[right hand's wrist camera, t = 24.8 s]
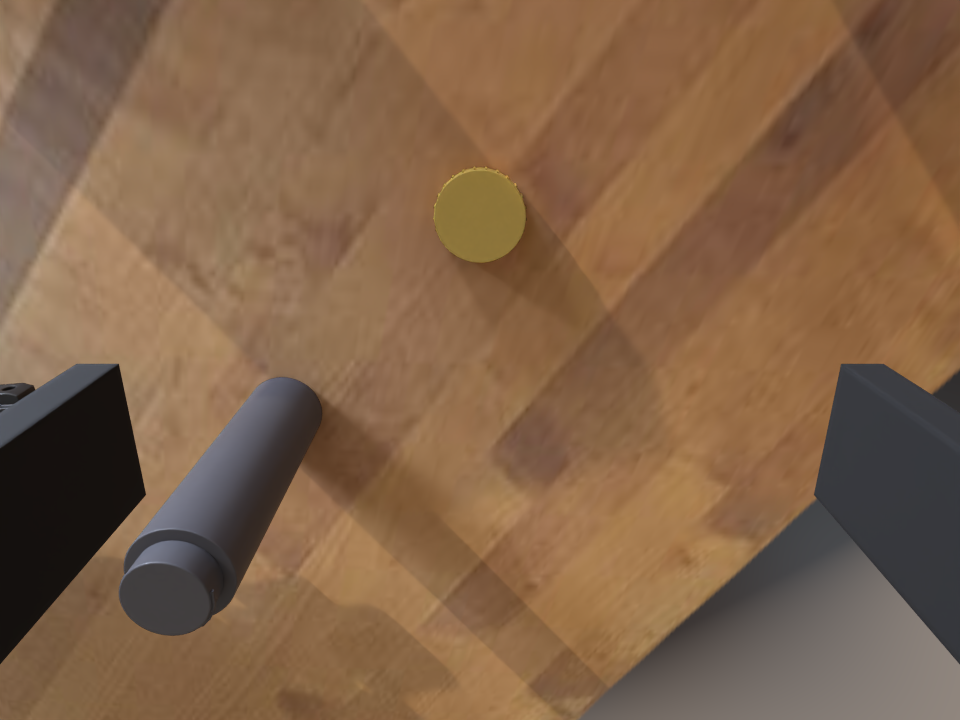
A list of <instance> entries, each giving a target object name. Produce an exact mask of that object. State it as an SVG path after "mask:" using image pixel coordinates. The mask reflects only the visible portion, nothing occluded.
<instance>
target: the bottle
mask: <svg viewBox="0 0 960 720" xmlns="http://www.w3.org/2000/svg"><path fill="white" fill-rule="evenodd" d="M321 419H322V408H321V404H320V401H319V399H318V397H317V396H316V394H315V393H314V392H313V391H312V390H311V389H310V388H309V387H308V386H307V385H305V384H304V383H302V382H300V381H298V380H295V379H291V378H285V377H279V378H273V379H269V380H267V381H265V382H263V383H261V384H260V385H259V386H258V387H257V388H256V389H255V390H254V391H253V393H252V394H251V395H250V396H249V398H248V399H247V400H246V402H245V403H244V404H243V405H242V407H241V408H240V409H239V410H238V412H237V413H236V414H235V415H234V417H233V418H232V419H231V420H230V422H229V423H228V424H227V425H226V427H225V428H224V429H223V430H222V432H221V433H220V434H219V435H218V437H217V438H216V439H215V441H214V442H213V443H212V444H211V446H210V447H209V448H208V449H207V451H206V452H205V453H204V454H203V456H202V457H201V458H200V459H199V461H198V462H197V463H196V464H195V466H194V467H193V468H192V469H191V471H190V472H189V473H188V475H187V476H186V477H185V478H184V480H183V481H182V482H181V483H180V485H179V486H178V487H177V488H176V490H175V491H174V492H173V493H172V495H171V496H170V497H169V498H168V500H167V501H166V502H165V503H164V505H163V506H162V507H161V508H160V510H159V511H158V512H157V514H156V515H155V516H154V517H153V519H152V520H151V521H150V522H149V524H148V525H147V526H146V527H145V529H144V530H143V531H142V532H141V534H140V535H139V536H138V537H137V539H136V540H135V541H134V542H133V544H132V545H131V546H130V548H129V549H128V551H127V553H126V556H125V560H124V574H125V575H124V576H123V579H122V581H121V583H120V587H119V599H120V603H121V605H122V607H123V609H124V611H125V612H126V614H127V615H128V616H129V617H130V619H132V620H133V621H134V622H135V623H136V624H138V625H139V626H141V627H142V628H144V629H146V630H148V631H151V632H154V633H157V634H161V635H170V636H175V635H183V634H187V633H190V632H192V631H195V630H196V629H198V628H200V627H201V626H204V625H205V624H206V623H207V622H208V621H209V620H210V619H211V617H212V615H214V614H216V613H218V612H220V611H221V610H223V609H224V608H225V607H226V606H227V605H228V604H229V603H230V602H231V600H232V598H233V597H234V595H235V593H236V591H237V589H238V587H239V585H240V583H241V581H242V579H243V577H244V575H245V573H246V571H247V569H248V567H249V565H250V563H251V561H252V559H253V557H254V555H255V553H256V551H257V549H258V547H259V545H260V543H261V541H262V539H263V537H264V535H265V533H266V531H267V529H268V527H269V525H270V523H271V521H272V519H273V517H274V515H275V513H276V511H277V509H278V507H279V505H280V503H281V501H282V499H283V497H284V495H285V493H286V491H287V489H288V487H289V485H290V483H291V481H292V479H293V477H294V475H295V473H296V471H297V469H298V467H299V465H300V463H301V461H302V460H303V458H304V456H305V454H306V452H307V450H308V448H309V446H310V444H311V442H312V440H313V438H314V436H315V434H316V432H317V430H318V428H319V426H320V423H321Z"/></svg>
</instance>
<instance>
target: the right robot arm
mask: <svg viewBox="0 0 960 720" xmlns="http://www.w3.org/2000/svg"><path fill="white" fill-rule="evenodd" d="M145 495H146V493H145V488H144V483H143V478H142V473H141V468H140V464H139V459H138V454H137V449H136V444H135V440H134V435H133V430H132V425H131V420H130V416H129V411H128V406H127V401H126V396H125V392H124V387H123V382H122V377H121V372H120V368H119V364H76V365H74V366H73V367H71V368H69V369H68V370H66V371H65V372H63V373H62V374H60V375H58V376H57V377H55V378H54V379H52V380H51V381H49V382H48V383H46V384H44V385H43V386H41V387H40V388H38V389H37V390H35V391H33V392H32V393H30V394H29V395H27V396H26V397H24V398H22V399H21V400H19V401H18V402H16V403H15V404H13V405H11V406H10V407H8V408H7V409H5V410H4V411H2V412H1V413H0V664H1V663H2V662H3V660H4V659H5V658H6V657H7V656H8V655H9V653H10V652H11V651H12V650H13V649H14V648H15V646H16V645H17V644H18V643H19V642H20V641H21V639H22V638H23V637H24V636H25V635H26V634H27V632H28V631H29V630H30V629H31V628H32V627H33V625H34V624H35V623H36V622H37V621H38V620H39V619H40V617H41V616H42V615H43V614H44V613H45V612H46V610H47V609H48V608H49V607H50V606H51V605H52V603H53V602H54V601H55V600H56V599H57V598H58V596H59V595H60V594H61V593H62V592H63V591H64V589H65V588H66V587H67V586H68V585H69V584H70V582H71V581H72V580H73V579H74V578H75V577H76V576H77V574H78V573H79V572H80V571H81V570H82V569H83V567H84V566H85V565H86V564H87V563H88V562H89V560H90V559H91V558H92V557H93V556H94V555H95V553H96V552H97V551H98V550H99V549H100V548H101V546H102V545H103V544H104V543H105V542H106V541H107V539H108V538H109V537H110V536H111V535H112V534H113V532H114V531H115V530H116V529H117V528H118V527H119V526H120V524H121V523H122V522H123V521H124V520H125V519H126V517H127V516H128V515H129V514H130V513H131V512H132V510H133V509H134V508H135V507H136V506H137V505H138V503H139V502H140V501H141V500H142V499H143V498H144V496H145ZM814 495H815V496H816V498H817V499H818V500H819V501H820V502H821V503H822V505H823V506H824V507H825V508H826V509H827V510H828V512H829V513H830V514H831V515H832V516H833V517H834V519H835V520H836V521H837V522H838V523H839V524H840V526H841V527H842V528H843V529H844V530H845V531H846V532H847V534H848V535H849V536H850V537H851V538H852V539H853V541H854V542H855V543H856V544H857V545H858V546H859V548H860V549H861V550H862V551H863V552H864V553H865V555H866V556H867V557H868V558H869V559H870V560H871V562H872V563H873V564H874V565H875V566H876V567H877V569H878V570H879V571H880V572H881V573H882V574H883V576H884V577H885V578H886V579H887V580H888V581H889V582H890V584H891V585H892V586H893V587H894V588H895V589H896V591H897V592H898V593H899V594H900V595H901V596H902V598H903V599H904V600H905V601H906V602H907V603H908V605H909V606H910V607H911V608H912V609H913V610H914V612H915V613H916V614H917V615H918V616H919V617H920V619H921V620H922V621H923V622H924V623H925V624H926V625H927V627H928V628H929V629H930V630H931V631H932V632H933V634H934V635H935V636H936V637H937V638H938V639H939V641H940V642H941V643H942V644H943V645H944V646H945V648H946V649H947V650H948V651H949V652H950V653H951V655H952V656H953V657H954V658H955V659H956V660H957V661H958V663H959V664H960V413H959V412H958V411H956V410H955V409H953V408H952V407H950V406H948V405H947V404H945V403H944V402H942V401H941V400H939V399H938V398H936V397H934V396H933V395H931V394H930V393H928V392H927V391H925V390H923V389H922V388H920V387H919V386H917V385H916V384H914V383H912V382H911V381H909V380H908V379H906V378H905V377H903V376H902V375H900V374H898V373H897V372H895V371H894V370H892V369H891V368H889V367H887V366H886V365H884V364H841V368H840V372H839V377H838V382H837V387H836V392H835V396H834V401H833V406H832V411H831V416H830V420H829V425H828V430H827V435H826V440H825V444H824V449H823V454H822V459H821V464H820V468H819V473H818V478H817V483H816V488H815V493H814Z"/></svg>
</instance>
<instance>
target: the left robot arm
mask: <svg viewBox="0 0 960 720" xmlns="http://www.w3.org/2000/svg"><path fill="white" fill-rule="evenodd" d="M33 391H35V388H34V386H33V385H29V384H26V383H16V384H6V385H5V384H3V385H0V413H1V412H2V411H4V410H5V409H7V408H8V407H10V406H11V405H13V404H15V403H16V402H18V401H19V400H21V399H22V398H24V397H26V396H27V395H29V394H30V393H32V392H33Z"/></svg>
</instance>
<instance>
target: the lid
mask: <svg viewBox="0 0 960 720" xmlns="http://www.w3.org/2000/svg"><path fill="white" fill-rule="evenodd" d="M437 197H438V199H437V202H436V204H435V205H434V208H435V211H434V218H433V220H434V222H435V228H436V231H437V234H438V236H439V238H440V241H441V242H442V243H443V245H444V246H445V247H446V248H447V249H448V250H449V251H450V252H451V253H452V254H454V255H455V256H457V257H459V258H461V259H463V260H465V261H469V262H475V263H485V262H491V261H495V260H497V259H499V258H501V257H503V256H505V255H506V254H508V253H509V252H510V251H511V250H512V249H513V248H514V247H515V246H516V245H517V243H518V242H519V240H520V238H521V236H522V234H523V232H524V228H525V222H526V221H527V218H526V211H525V209H526V206H525V204H524V202H523V199H522V198H523V195H522V193H520V192H519V191H518V189H517V185H516V183H515V184H514V183H513V182H512V181H511V180H510V179H509V177H508V175H506V176H505V175H504V174H502V173H500V172H499V171H498V170H493V169H489V168H487V167H486V166H485V168H476V167H475V166H474V168H471V169H467V170H464V169H463V170H462V172H460V173H458V174H456V175H455V176H454V175H452V178H451V179H450V180H449V181H448V182H447V183H444V185H443V189H442V191H441V192H440V193H438V195H437Z"/></svg>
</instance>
